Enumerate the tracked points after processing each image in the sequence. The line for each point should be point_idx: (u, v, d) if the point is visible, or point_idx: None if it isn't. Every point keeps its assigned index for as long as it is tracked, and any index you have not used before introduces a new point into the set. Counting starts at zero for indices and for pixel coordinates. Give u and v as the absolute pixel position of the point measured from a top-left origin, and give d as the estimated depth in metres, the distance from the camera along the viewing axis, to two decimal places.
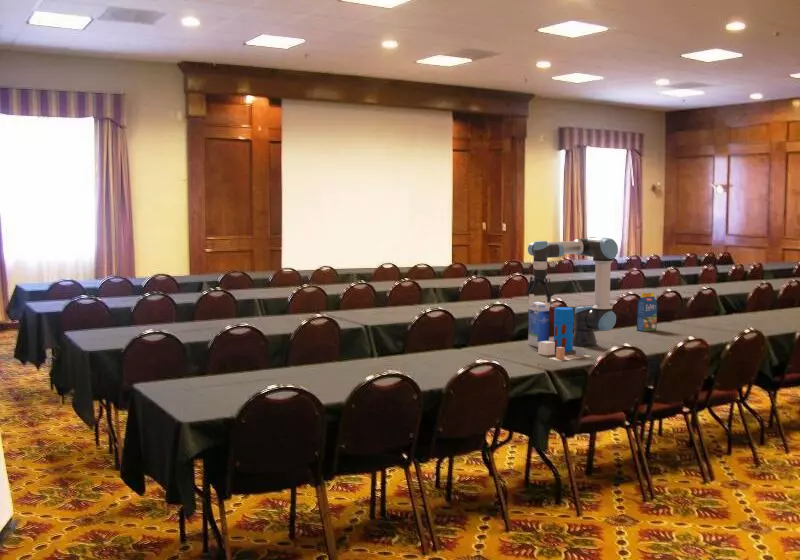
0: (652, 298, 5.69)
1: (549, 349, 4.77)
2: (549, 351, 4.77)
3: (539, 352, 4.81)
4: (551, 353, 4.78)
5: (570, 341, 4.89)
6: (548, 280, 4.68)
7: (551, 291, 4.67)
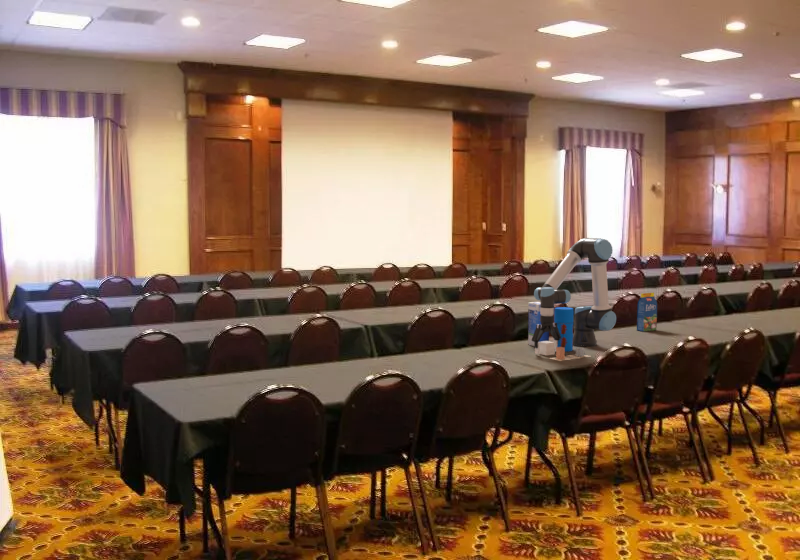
0: (652, 298, 5.69)
1: (549, 349, 4.77)
2: (549, 351, 4.77)
3: (539, 352, 4.81)
4: (551, 353, 4.78)
5: (570, 341, 4.89)
6: (537, 326, 4.75)
7: (534, 337, 4.74)
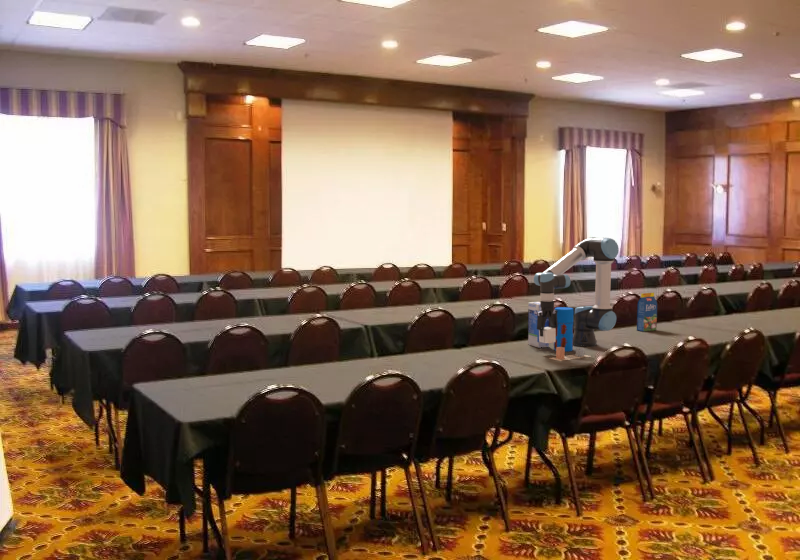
0: (652, 298, 5.69)
1: (550, 335, 4.77)
2: (550, 337, 4.77)
3: (540, 338, 4.80)
4: (552, 339, 4.78)
5: (570, 341, 4.89)
6: (538, 314, 4.75)
7: (538, 325, 4.75)
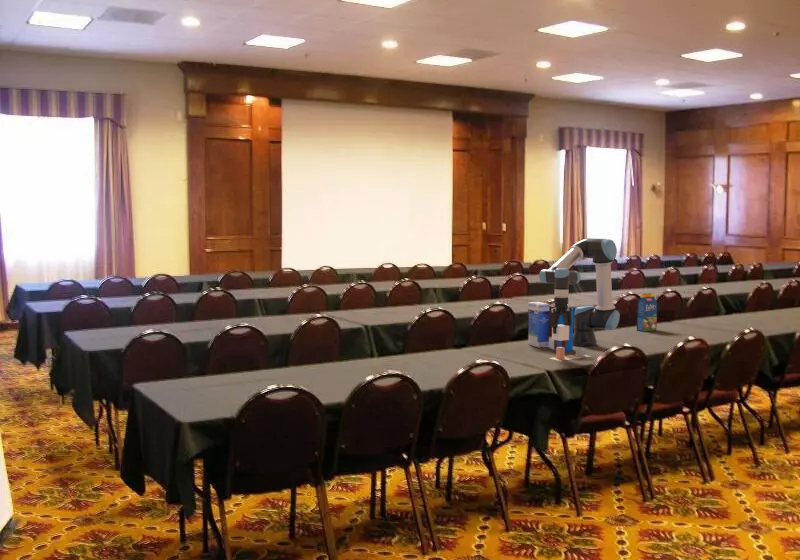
0: (652, 298, 5.69)
1: (563, 332, 4.63)
2: (563, 335, 4.63)
3: None
4: (565, 337, 4.64)
5: (570, 341, 4.89)
6: (552, 311, 4.61)
7: (552, 322, 4.61)
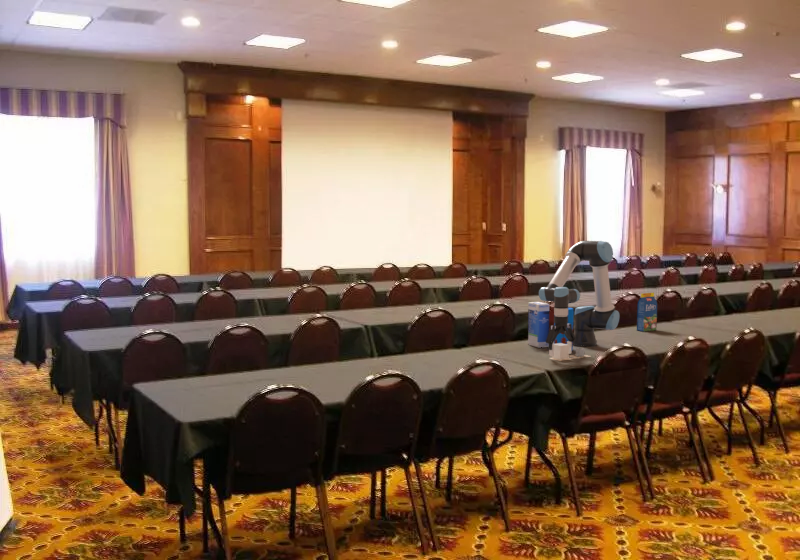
0: (652, 298, 5.69)
1: (563, 352, 4.64)
2: (563, 354, 4.64)
3: None
4: (565, 356, 4.65)
5: None
6: (551, 327, 4.62)
7: (548, 338, 4.61)
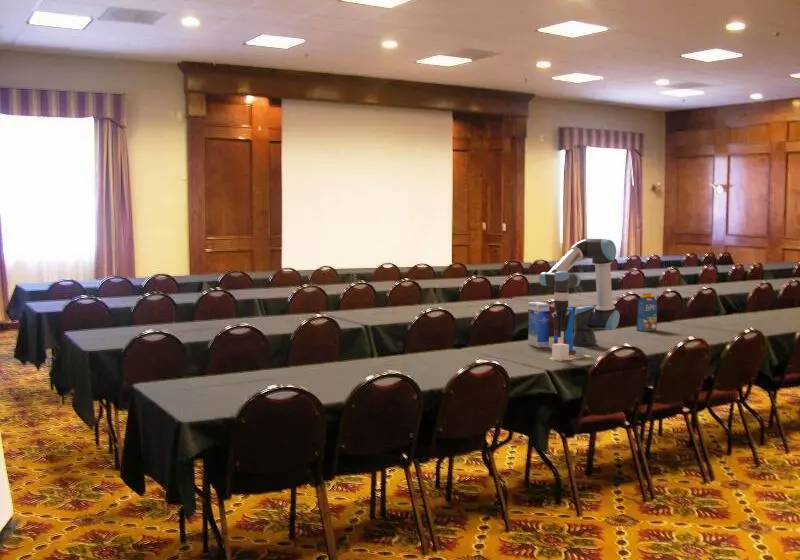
0: (652, 298, 5.69)
1: (563, 352, 4.64)
2: (563, 354, 4.64)
3: (553, 355, 4.67)
4: (565, 356, 4.65)
5: (570, 341, 4.89)
6: (553, 316, 4.62)
7: (555, 326, 4.63)
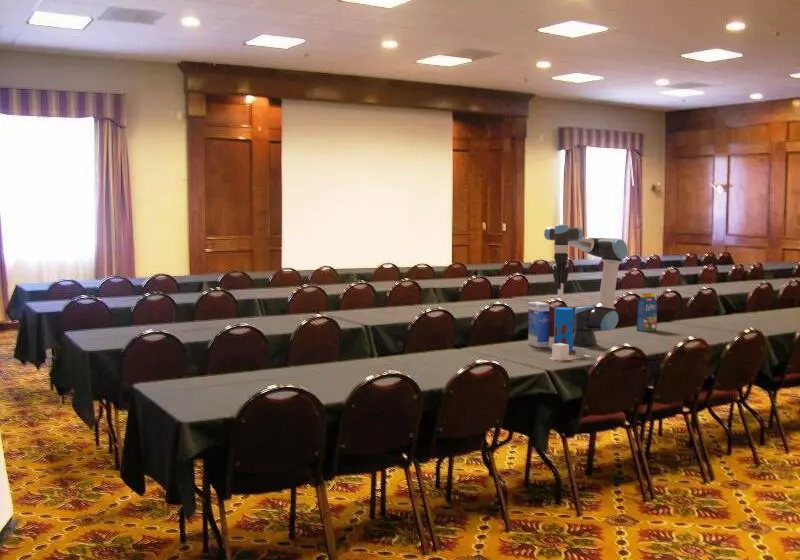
0: (652, 298, 5.69)
1: (563, 352, 4.64)
2: (563, 354, 4.64)
3: (553, 355, 4.67)
4: (565, 356, 4.65)
5: (570, 341, 4.89)
6: (553, 268, 4.72)
7: (555, 278, 4.74)
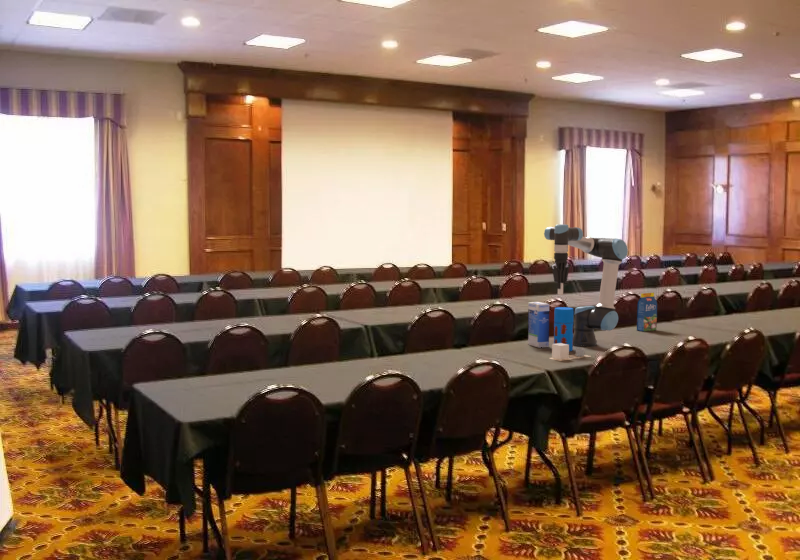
0: (652, 298, 5.69)
1: (563, 352, 4.64)
2: (563, 354, 4.64)
3: (553, 355, 4.67)
4: (565, 356, 4.65)
5: (570, 341, 4.89)
6: (553, 267, 4.72)
7: (555, 278, 4.74)
